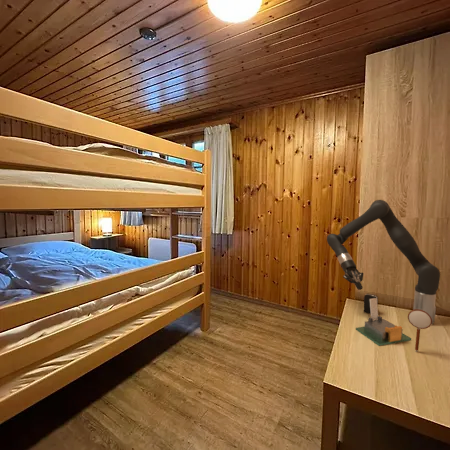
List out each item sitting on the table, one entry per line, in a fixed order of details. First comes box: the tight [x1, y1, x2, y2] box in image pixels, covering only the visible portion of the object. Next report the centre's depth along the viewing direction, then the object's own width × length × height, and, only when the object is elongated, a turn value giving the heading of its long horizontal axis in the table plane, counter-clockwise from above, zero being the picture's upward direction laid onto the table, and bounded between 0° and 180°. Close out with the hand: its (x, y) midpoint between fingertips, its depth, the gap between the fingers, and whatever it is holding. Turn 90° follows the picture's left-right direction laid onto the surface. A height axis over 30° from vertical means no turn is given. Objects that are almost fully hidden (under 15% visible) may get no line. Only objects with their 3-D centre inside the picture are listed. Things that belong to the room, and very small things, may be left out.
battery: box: [363, 293, 379, 315], centre depth 152 cm, size 7×4×11 cm, turn 47°
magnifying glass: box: [407, 309, 433, 352], centre depth 114 cm, size 9×2×20 cm, turn 49°
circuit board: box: [355, 315, 412, 347], centre depth 128 cm, size 19×15×8 cm
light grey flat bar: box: [370, 298, 379, 320], centre depth 134 cm, size 4×11×1 cm
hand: (360, 289), depth 142 cm, fingers closed
